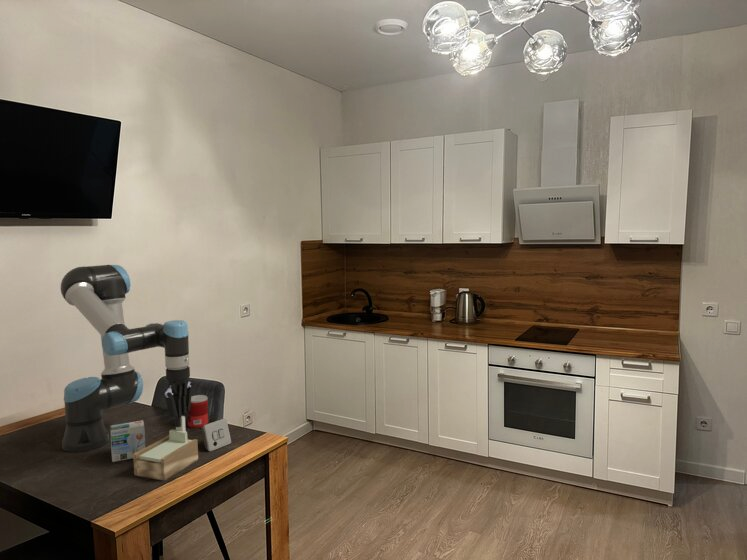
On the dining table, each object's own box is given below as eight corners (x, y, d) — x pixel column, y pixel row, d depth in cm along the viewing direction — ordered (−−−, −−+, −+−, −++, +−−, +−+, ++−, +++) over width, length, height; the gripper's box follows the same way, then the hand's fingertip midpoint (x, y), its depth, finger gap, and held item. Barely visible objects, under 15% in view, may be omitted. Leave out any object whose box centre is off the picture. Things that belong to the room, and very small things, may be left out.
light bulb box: (112, 462, 176) (110, 431, 175) (111, 455, 182) (109, 425, 181) (146, 456, 181) (144, 425, 180) (145, 448, 187) (143, 419, 186)
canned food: (212, 423, 211) (211, 396, 210) (196, 430, 204) (195, 402, 203) (200, 419, 215) (198, 393, 214) (183, 426, 208) (182, 399, 207)
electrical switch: (209, 452, 184) (206, 426, 183) (201, 450, 187) (198, 424, 187) (231, 444, 191) (229, 418, 191) (223, 441, 194) (221, 417, 194)
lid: (139, 458, 166) (138, 445, 166) (170, 441, 180) (169, 429, 179) (159, 462, 164) (159, 448, 163) (189, 444, 177) (189, 431, 176)
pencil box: (134, 475, 167) (133, 454, 166) (169, 454, 182) (168, 435, 181) (164, 480, 163) (163, 459, 162) (198, 459, 178) (197, 439, 177)
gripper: (173, 373, 169) (177, 443, 171) (199, 363, 181) (202, 429, 183) (154, 371, 171) (158, 440, 174) (181, 361, 184) (184, 426, 186)
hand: (181, 434), depth 179 cm, fingers closed
